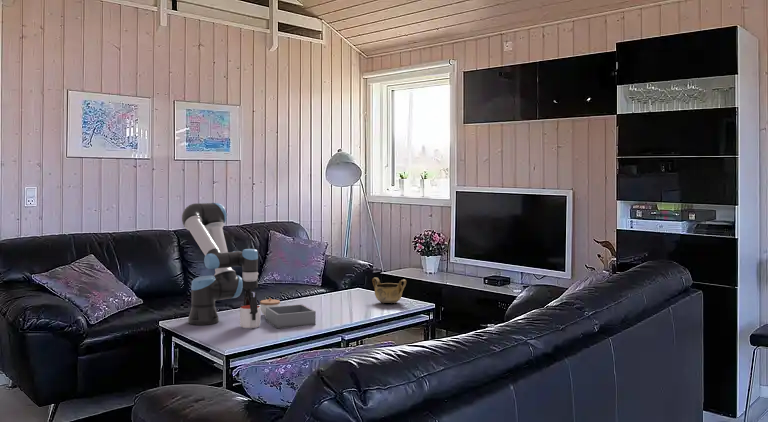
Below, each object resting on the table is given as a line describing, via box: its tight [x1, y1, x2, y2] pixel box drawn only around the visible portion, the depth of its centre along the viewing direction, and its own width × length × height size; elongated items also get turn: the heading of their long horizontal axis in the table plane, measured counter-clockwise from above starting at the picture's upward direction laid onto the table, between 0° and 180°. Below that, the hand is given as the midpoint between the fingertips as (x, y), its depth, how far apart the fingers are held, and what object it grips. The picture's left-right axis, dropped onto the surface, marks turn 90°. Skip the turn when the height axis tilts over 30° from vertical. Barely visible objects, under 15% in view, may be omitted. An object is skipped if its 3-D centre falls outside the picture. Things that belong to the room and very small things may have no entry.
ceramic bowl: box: [371, 277, 407, 304], centre depth 391 cm, size 22×17×15 cm
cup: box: [239, 305, 261, 329], centre depth 328 cm, size 10×10×10 cm
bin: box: [265, 303, 317, 330], centre depth 338 cm, size 20×20×7 cm
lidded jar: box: [259, 297, 281, 317], centre depth 355 cm, size 11×11×9 cm
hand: (250, 324), depth 328 cm, fingers closed on cup, 10 cm apart
